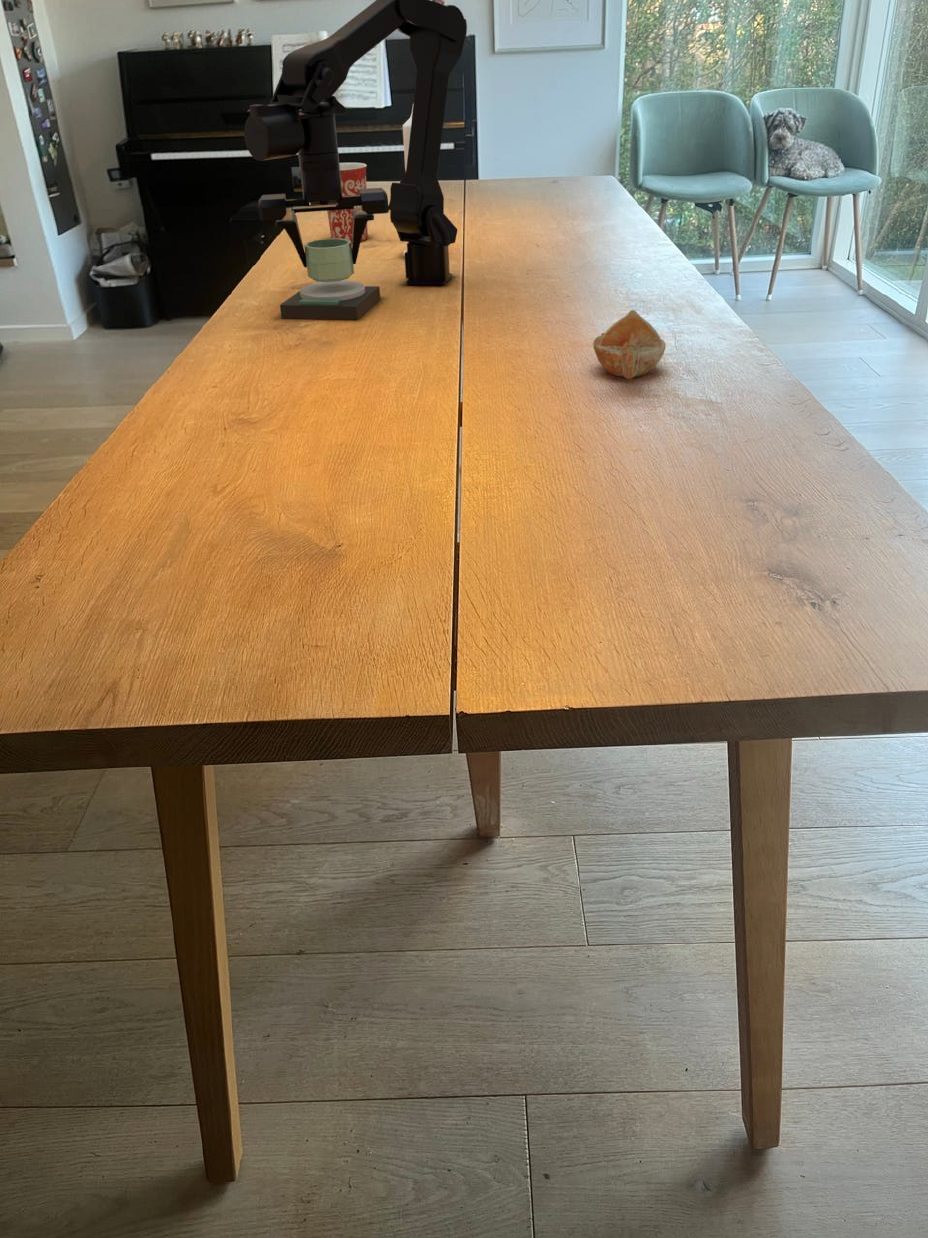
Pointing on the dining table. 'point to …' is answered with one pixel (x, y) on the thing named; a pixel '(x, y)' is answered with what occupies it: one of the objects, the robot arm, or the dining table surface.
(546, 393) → the dining table surface
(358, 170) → the mug
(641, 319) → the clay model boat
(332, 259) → the bowl
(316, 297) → the scale
